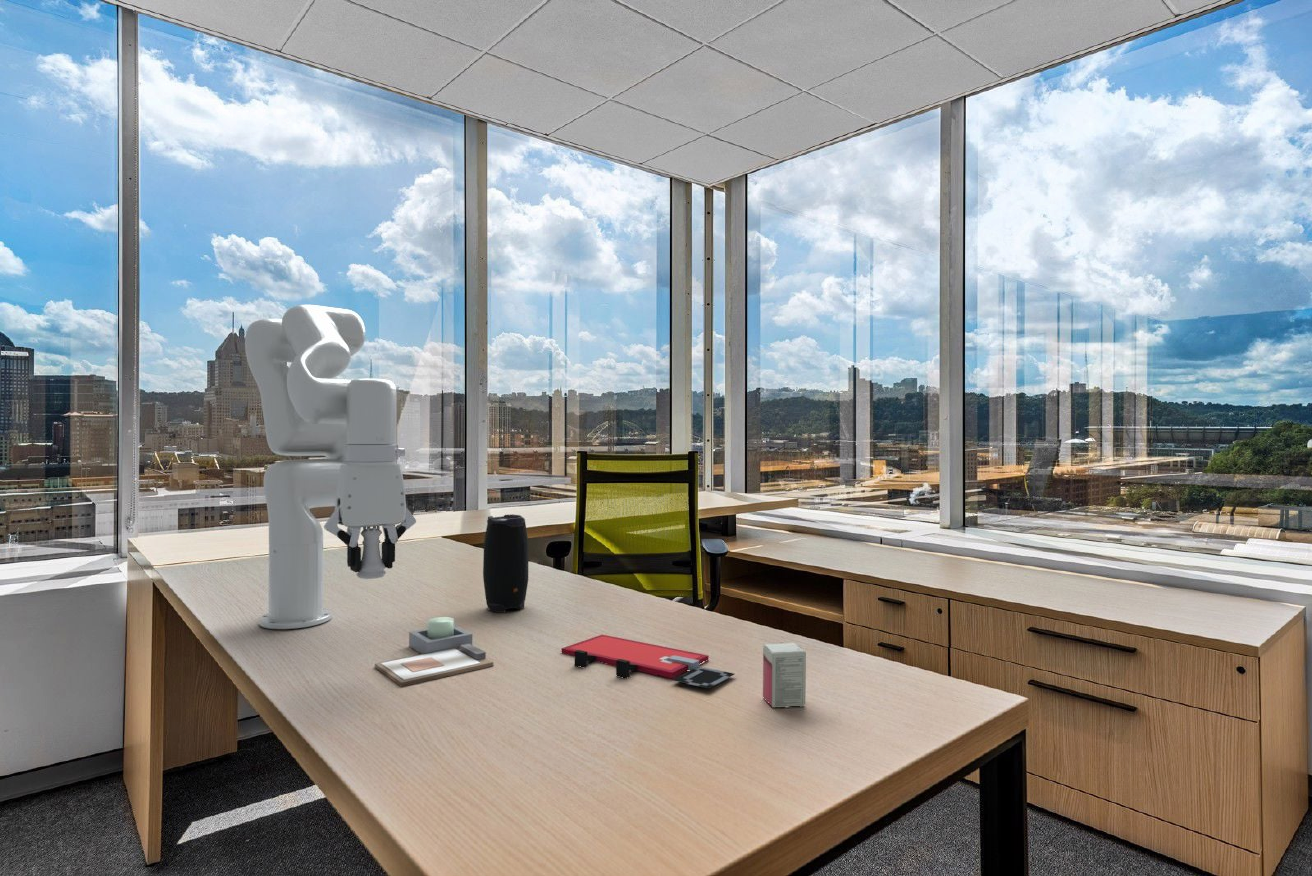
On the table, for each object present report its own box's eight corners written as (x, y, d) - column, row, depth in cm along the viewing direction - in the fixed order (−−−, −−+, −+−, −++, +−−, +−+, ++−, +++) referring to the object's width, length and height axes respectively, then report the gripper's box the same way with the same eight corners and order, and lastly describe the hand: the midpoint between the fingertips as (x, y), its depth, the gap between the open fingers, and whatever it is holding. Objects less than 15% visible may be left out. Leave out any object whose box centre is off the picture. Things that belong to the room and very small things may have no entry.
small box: (794, 696, 104) (795, 641, 104) (806, 707, 100) (806, 651, 100) (761, 697, 104) (762, 643, 103) (771, 709, 99) (772, 652, 99)
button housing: (409, 646, 126) (409, 631, 126) (452, 637, 131) (452, 624, 131) (427, 657, 120) (427, 642, 120) (472, 648, 125) (472, 634, 125)
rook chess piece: (375, 579, 113) (375, 529, 113) (350, 578, 114) (350, 528, 114) (391, 574, 118) (391, 525, 118) (367, 573, 119) (367, 524, 118)
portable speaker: (529, 612, 150) (530, 518, 149) (483, 614, 147) (484, 519, 147) (526, 602, 158) (526, 513, 158) (482, 604, 156) (482, 514, 155)
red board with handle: (702, 698, 103) (749, 672, 116) (702, 679, 103) (749, 654, 116) (546, 661, 120) (601, 642, 132) (546, 644, 120) (602, 626, 132)
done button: (423, 636, 126) (423, 619, 125) (447, 632, 128) (447, 615, 128) (433, 642, 122) (433, 625, 122) (458, 638, 125) (458, 620, 125)
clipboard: (374, 667, 115) (375, 657, 114) (462, 649, 124) (462, 640, 124) (401, 686, 106) (401, 675, 106) (493, 665, 116) (493, 655, 116)
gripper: (414, 454, 124) (414, 560, 124) (309, 456, 113) (308, 571, 113) (431, 455, 118) (431, 566, 118) (322, 457, 108) (322, 579, 108)
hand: (371, 567), depth 116 cm, fingers closed on rook chess piece, 4 cm apart
